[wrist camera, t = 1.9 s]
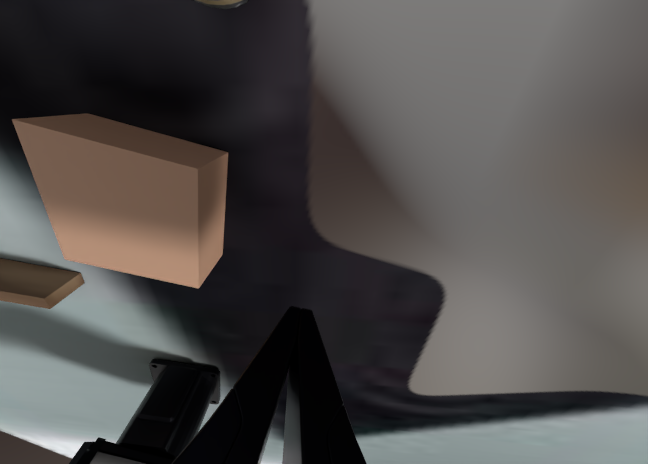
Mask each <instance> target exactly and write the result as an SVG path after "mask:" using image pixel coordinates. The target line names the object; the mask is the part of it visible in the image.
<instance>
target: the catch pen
mask: <svg viewBox="0 0 648 464" xmlns="http://www.w3.org/2000/svg"><path fill="white" fill-rule="evenodd" d="M82 284H84V280H83V278H82V275H81V273H77V272H72V271H67V270H61V269H56V268H50V267H45V266H40V265H34V264H29V263H23V262H18V261H13V260H7V259H2V258H0V300H1V301H7V302H12V303H18V304H24V305H30V306H36V307H42V308H47V309H51V308H52V307H53V306H55V305H56V304H57V303H59V302H60V301H61V300H63V299H64V298H65V297H67V296H68V295H69V294H71V293H72V292H73V291H75V290H76V289H77V288H78V287H80V286H81V285H82Z"/></svg>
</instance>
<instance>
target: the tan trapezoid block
mask: <svg viewBox="0 0 648 464" xmlns="http://www.w3.org/2000/svg"><path fill="white" fill-rule="evenodd" d="M12 121H13V124H14V126H15V129H16V132H17V134H18V137H19V140H20V142H21V145H22V148H23V150H24V153H25V156H26V158H27V161H28V163H29V166H30V169H31V171H32V174H33V177H34V179H35V182H36V185H37V187H38V190H39V192H40V195H41V198H42V200H43V203H44V206H45V208H46V211H47V214H48V216H49V219H50V222H51V224H52V227H53V229H54V232H55V235H56V237H57V240H58V243H59V245H60V248H61V251H62V253H63V256H64V258H65V260H70V261H74V262H79V263H84V264H88V265H93V266H97V267H102V268H107V269H111V270H116V271H120V272H125V273H130V274H134V275H139V276H143V277H148V278H153V279H157V280H162V281H166V282H171V283H176V284H180V285H185V286H189V287H194V288H199V287H200V286H201V285H202V283H203V282H204V280H205V279H206V277H207V276H208V275H209V273H210V272H211V270H212V269H213V267H214V266H215V265H216V263H217V262H218V260H219V259H220V257H221V256H222V254H223V236H224V219H225V202H226V184H227V167H228V152H225V151H221V150H218V149H214V148H211V147H207V146H203V145H200V144H196V143H193V142H189V141H186V140H182V139H178V138H175V137H171V136H168V135H164V134H160V133H157V132H153V131H150V130H146V129H142V128H139V127H135V126H132V125H128V124H124V123H121V122H117V121H114V120H110V119H106V118H103V117H99V116H96V115H92V114H88V113H86V114H73V115H60V116H46V117H33V118H20V119H12Z"/></svg>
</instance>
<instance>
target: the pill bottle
mask: <svg viewBox="0 0 648 464" xmlns="http://www.w3.org/2000/svg"><path fill="white" fill-rule="evenodd" d="M193 1H195V2H198V3H201V4H203V5H206V6H208V7H213V8H220V9H231V8H236V7H239V6H241V5H243V4H245V3H246V2H247V1H248V0H193Z"/></svg>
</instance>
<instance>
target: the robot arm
mask: <svg viewBox="0 0 648 464" xmlns="http://www.w3.org/2000/svg"><path fill="white" fill-rule="evenodd" d="M289 365H290V366H289ZM149 366H150V370H151V373H152V377H153V380H154V383H153V385H152V386H151V388H150V390H149V391H148V393H147V394H146V396H145V398H144V399H143V401H142V402H141V404H140V406H139V407H138V409H137V410H136V412H135V414H134V415H133V417H132V418H131V420H130V422H129V423H128V425H127V426H126V428H125V430H124V431H123V433H122V434H121V436H120V438H119V439H118V441H117V442H116V444H115V443H111V442H107V441H105V440H106V439H103V438H99V437H98V439H97V440H96V442H84V444H83V445H82V446H81V448H80V449H79V450H78V452H77V453H76V455H75V456H74V457H73V459H72V460H71V462H70V463H69V464H260V463H261V460H262V456H263V453H264V450H265V446H266V443H267V440H268V436H269V433H270V430H271V426H272V423H273V420H274V416H275V413H276V410H277V406H278V403H279V400H280V396H281V393H282V390H283V386H284V383H285V380H286V376H287V373H288V369H289V375H288V389H287V404H286V419H285V433H284V448H283V462H282V464H366V461H365V459H364V457H363V454H362V452H361V449H360V447H359V445H358V442H357V440H356V437H355V435H354V432H353V429H352V426H351V424H350V421H349V418H348V415H347V412H346V409H345V406H343V401H342V398H341V395H340V392H339V389H338V386H337V383H336V380H335V377H334V374H333V371H332V368H331V365H330V362H329V359H328V356H327V353H326V350H325V347H324V344H323V341H322V338H321V335H320V332H319V329H318V327H317V324H316V321H315V318H314V315H313V312H312V310H310V309H304V308H302V309H300V308H299V307H294V306H291V307H289V309H288V310H287V311H286V313H285V314H284V316H283V317H282V318H281V320H280V321H279V323H278V324H277V326H276V327H275V328H274V330H273V331H272V333H271V334H270V335H269V337H268V338H267V340H266V341H265V342H264V344H263V345H262V347H261V348H260V350H259V351H258V352H257V354H256V355H255V357H254V358H253V359H252V361H251V362H250V364H249V365H248V366H247V368H246V369H245V371H244V372H243V374H242V375H241V376H240V378H239V379H238V381H237V382H236V383H235V385H234V386H233V389H231V390H230V392H229V393H228V394H227V396H226V397H225V399H224V400H223V401H222V403H221V404H220V405H219V407H218V408H217V409H216V411H215V412H214V413H213V415H212V416H211V417H210V419H209V420H208V421H207V422H206V424H205V425H204V426H203V427H202V428H201V430H200V431H199V428H200V426H201V424H202V421H203V419H204V416H205V414H206V411H207V409H208V406H209V404H218V403H219V400H220V371H219V370H218V369H214V368H208V367H202V366H196V365H189V364H183V363H177V362H171V361H165V360H158V359H153V360H152V361H151V363H150V364H149ZM198 431H199V432H198Z"/></svg>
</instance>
